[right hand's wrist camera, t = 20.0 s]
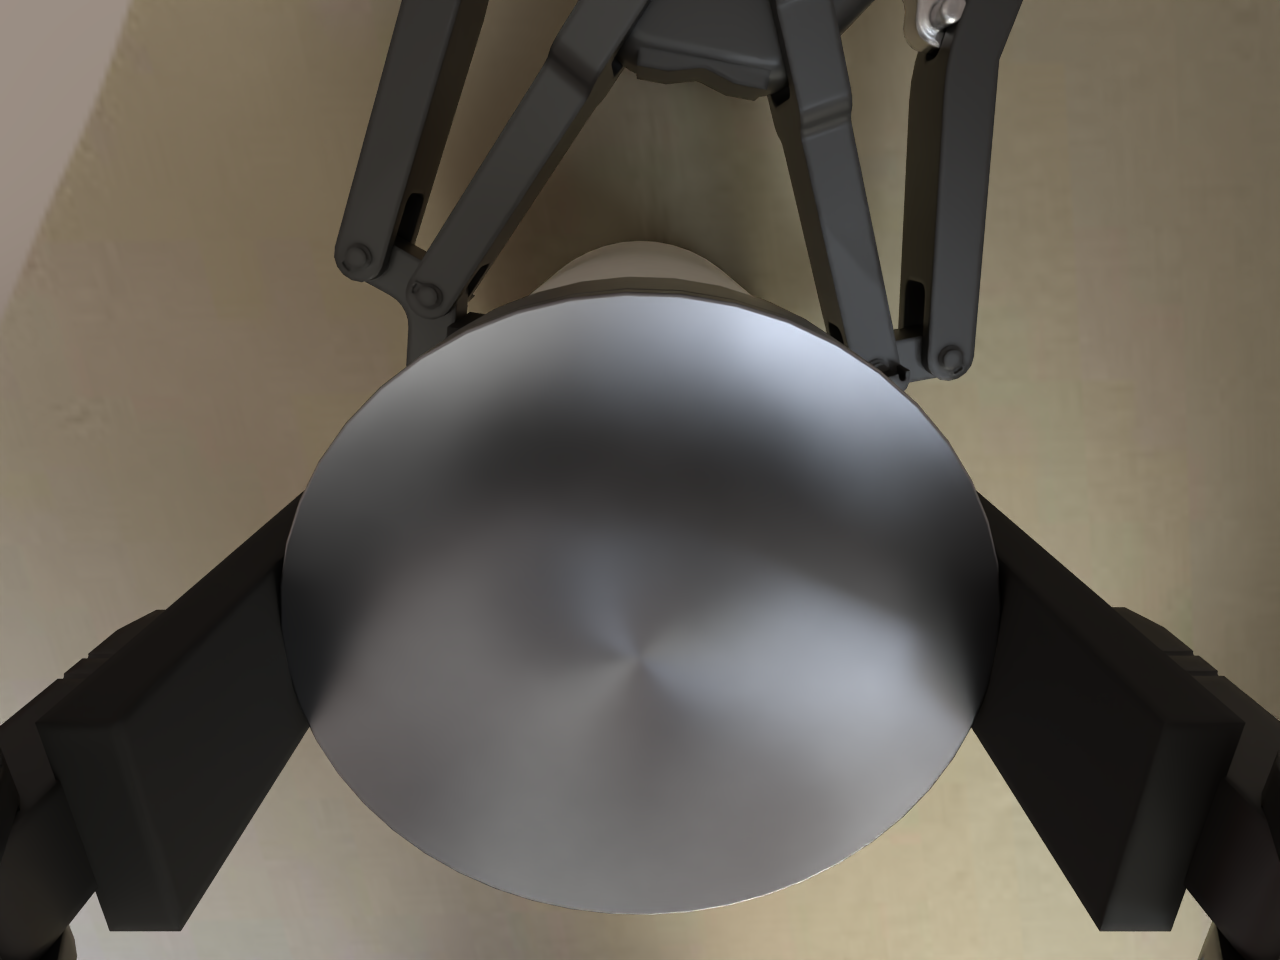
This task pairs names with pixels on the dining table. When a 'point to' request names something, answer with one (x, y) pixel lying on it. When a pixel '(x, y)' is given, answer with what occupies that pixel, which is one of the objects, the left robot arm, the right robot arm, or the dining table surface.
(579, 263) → the jar
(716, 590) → the lid
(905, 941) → the dining table surface
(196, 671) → the right robot arm
